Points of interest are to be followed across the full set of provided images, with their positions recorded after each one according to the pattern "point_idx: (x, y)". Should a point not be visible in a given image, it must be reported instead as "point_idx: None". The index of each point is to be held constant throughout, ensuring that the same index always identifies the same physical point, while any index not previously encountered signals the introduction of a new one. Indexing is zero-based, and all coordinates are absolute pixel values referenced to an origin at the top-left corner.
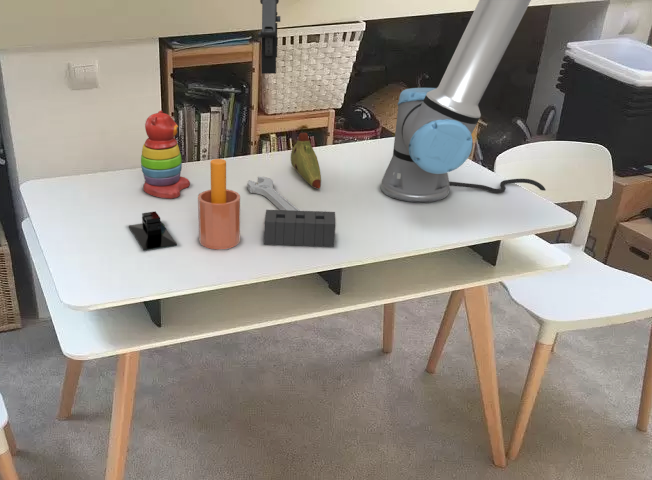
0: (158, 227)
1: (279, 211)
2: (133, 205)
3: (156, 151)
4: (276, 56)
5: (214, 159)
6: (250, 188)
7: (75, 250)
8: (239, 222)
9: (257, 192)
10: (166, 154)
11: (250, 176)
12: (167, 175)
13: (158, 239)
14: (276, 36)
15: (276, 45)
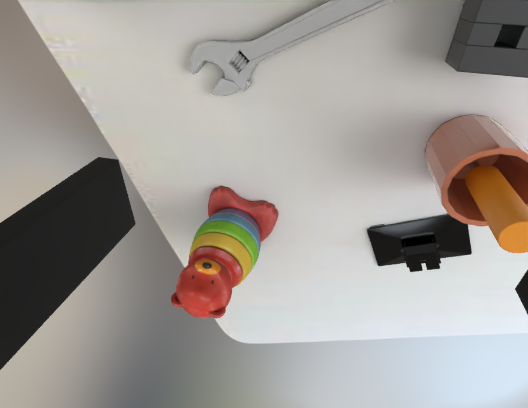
0: (438, 245)
1: (479, 38)
2: (300, 256)
3: (245, 273)
4: (116, 165)
5: (502, 244)
6: (245, 89)
7: (443, 316)
8: (499, 129)
9: (250, 74)
10: (245, 256)
11: (165, 84)
12: (257, 234)
13: (447, 237)
14: (16, 240)
15: (69, 200)
